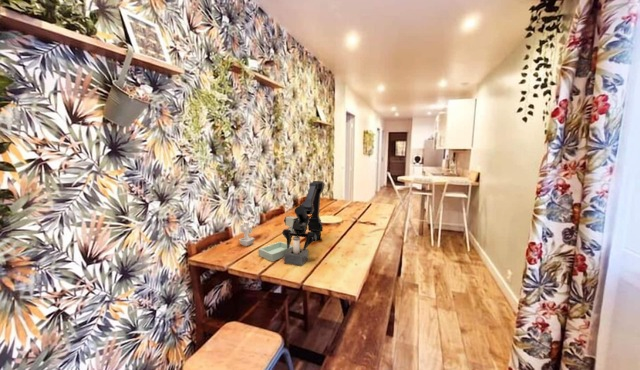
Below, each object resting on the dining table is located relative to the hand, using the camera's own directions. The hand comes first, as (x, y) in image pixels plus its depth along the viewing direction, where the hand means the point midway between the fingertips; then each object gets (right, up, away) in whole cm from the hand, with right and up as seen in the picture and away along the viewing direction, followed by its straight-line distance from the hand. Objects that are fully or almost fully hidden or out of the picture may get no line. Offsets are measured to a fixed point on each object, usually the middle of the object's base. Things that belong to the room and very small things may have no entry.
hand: (295, 249), depth 138 cm
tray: (-12, -5, +10) cm, 17 cm away
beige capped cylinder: (0, -7, +2) cm, 7 cm away
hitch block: (0, -7, +2) cm, 7 cm away
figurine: (-33, -3, +25) cm, 42 cm away
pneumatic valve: (-7, 0, +51) cm, 51 cm away
